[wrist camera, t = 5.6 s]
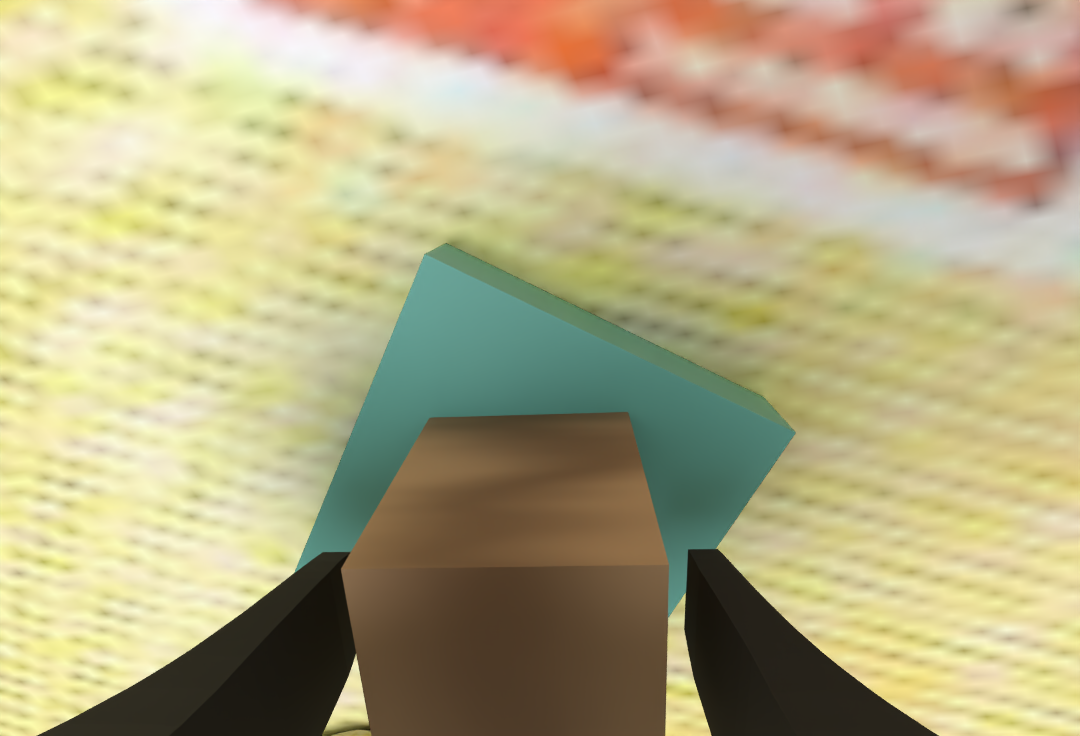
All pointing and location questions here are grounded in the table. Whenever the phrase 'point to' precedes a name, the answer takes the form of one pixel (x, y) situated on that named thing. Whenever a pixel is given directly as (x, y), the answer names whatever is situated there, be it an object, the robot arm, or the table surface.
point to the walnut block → (514, 583)
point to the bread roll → (355, 733)
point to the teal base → (551, 403)
